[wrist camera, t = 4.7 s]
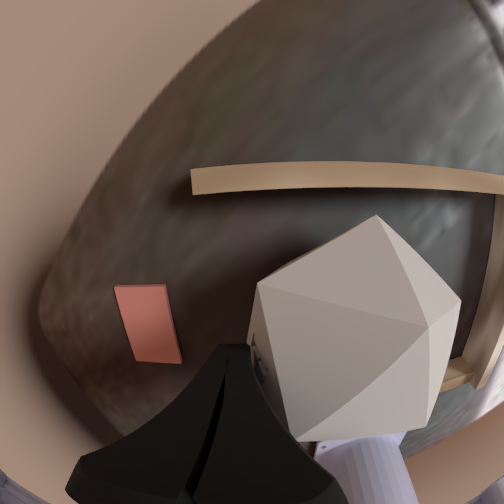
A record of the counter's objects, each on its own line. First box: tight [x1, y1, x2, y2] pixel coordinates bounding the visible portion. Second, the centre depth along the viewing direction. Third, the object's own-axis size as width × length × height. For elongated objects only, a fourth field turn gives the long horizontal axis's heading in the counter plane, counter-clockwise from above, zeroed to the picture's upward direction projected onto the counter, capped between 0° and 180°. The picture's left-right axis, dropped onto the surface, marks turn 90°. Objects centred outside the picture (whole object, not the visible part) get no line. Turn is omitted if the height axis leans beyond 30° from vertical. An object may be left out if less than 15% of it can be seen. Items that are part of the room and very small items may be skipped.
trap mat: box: [114, 284, 183, 364], centre depth 15 cm, size 5×3×1 cm, turn 4°
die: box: [246, 215, 461, 441], centre depth 10 cm, size 8×9×10 cm
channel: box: [191, 161, 504, 393], centre depth 12 cm, size 14×18×3 cm
